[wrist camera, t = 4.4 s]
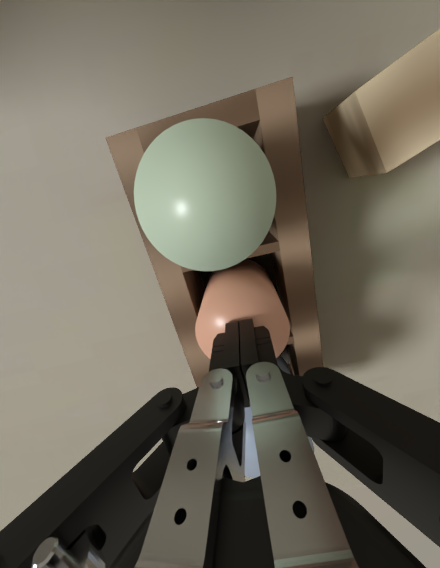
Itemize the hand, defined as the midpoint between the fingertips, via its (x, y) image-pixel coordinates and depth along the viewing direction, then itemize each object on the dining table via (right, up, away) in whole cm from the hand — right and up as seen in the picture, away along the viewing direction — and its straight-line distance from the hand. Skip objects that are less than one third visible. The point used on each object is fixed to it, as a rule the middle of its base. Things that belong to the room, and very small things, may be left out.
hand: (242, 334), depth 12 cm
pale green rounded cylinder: (-2, +8, +1) cm, 8 cm away
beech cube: (+9, +14, +3) cm, 17 cm away
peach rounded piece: (0, +2, +6) cm, 6 cm away
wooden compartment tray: (0, +3, +8) cm, 8 cm away
